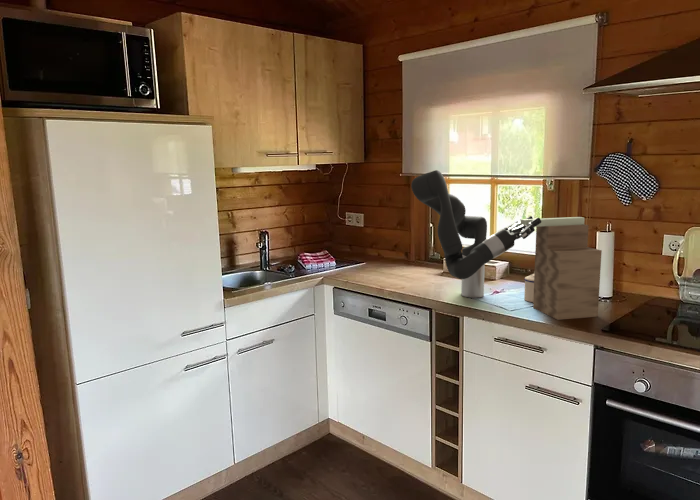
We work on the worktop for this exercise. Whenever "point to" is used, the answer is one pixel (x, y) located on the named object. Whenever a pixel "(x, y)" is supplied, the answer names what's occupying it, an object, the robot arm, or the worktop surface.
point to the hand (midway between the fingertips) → (535, 219)
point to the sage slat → (556, 221)
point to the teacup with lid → (529, 288)
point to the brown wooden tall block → (566, 272)
